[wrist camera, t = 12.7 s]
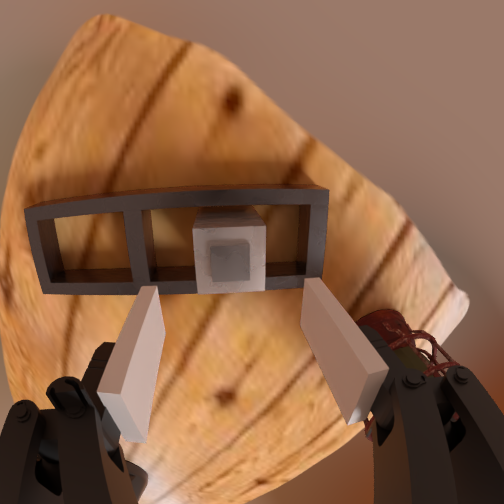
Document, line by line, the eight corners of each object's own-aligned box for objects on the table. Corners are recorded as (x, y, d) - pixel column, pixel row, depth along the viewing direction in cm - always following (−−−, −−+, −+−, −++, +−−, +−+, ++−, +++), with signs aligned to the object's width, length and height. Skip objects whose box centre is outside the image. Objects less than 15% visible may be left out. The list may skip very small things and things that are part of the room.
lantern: (415, 291, 29) (572, 457, 2) (401, 360, 34) (501, 509, 6) (329, 317, 29) (469, 567, 1) (326, 386, 33) (407, 574, 5)
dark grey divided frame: (56, 280, 23) (43, 293, 20) (40, 202, 20) (23, 209, 18) (310, 272, 26) (320, 286, 24) (316, 184, 23) (329, 189, 21)
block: (202, 256, 24) (197, 297, 18) (199, 206, 23) (191, 230, 16) (252, 253, 25) (265, 293, 18) (252, 204, 23) (267, 227, 17)
